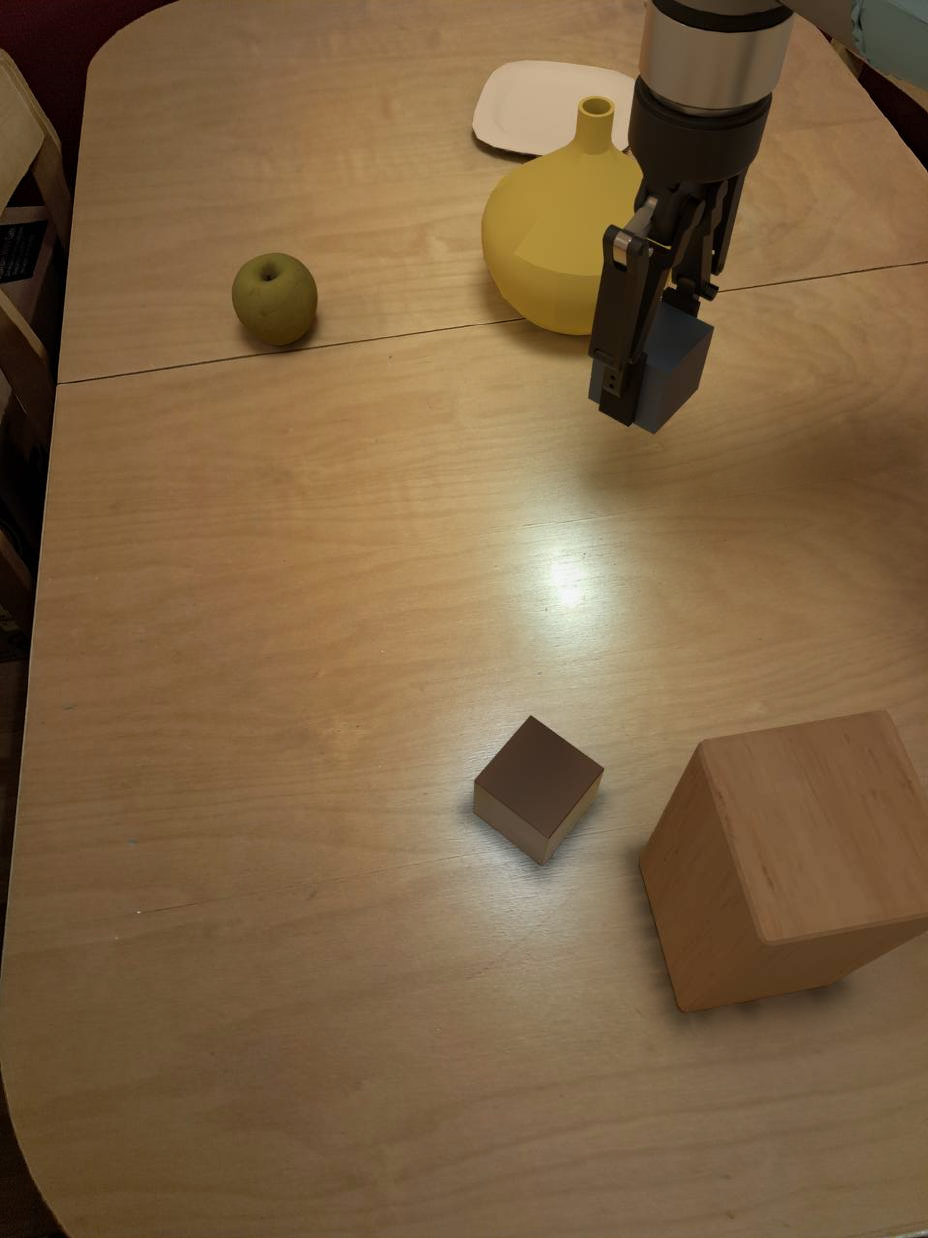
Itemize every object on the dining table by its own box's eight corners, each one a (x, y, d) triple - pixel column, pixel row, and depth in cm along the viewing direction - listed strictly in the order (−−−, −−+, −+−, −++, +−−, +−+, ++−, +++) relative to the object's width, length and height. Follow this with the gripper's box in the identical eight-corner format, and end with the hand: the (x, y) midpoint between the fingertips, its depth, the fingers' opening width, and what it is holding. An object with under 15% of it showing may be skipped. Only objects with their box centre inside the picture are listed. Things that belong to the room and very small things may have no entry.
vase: (504, 380, 86) (511, 191, 69) (463, 252, 95) (461, 58, 79) (695, 349, 88) (746, 158, 71) (636, 226, 97) (670, 32, 81)
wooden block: (778, 832, 64) (890, 704, 47) (832, 985, 59) (980, 905, 42) (636, 857, 63) (696, 737, 46) (678, 1015, 58) (764, 945, 41)
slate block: (698, 389, 71) (715, 326, 66) (654, 435, 69) (668, 374, 64) (632, 354, 73) (643, 291, 68) (587, 398, 71) (595, 336, 66)
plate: (646, 85, 110) (648, 71, 109) (624, 178, 101) (626, 163, 100) (495, 67, 112) (495, 52, 111) (461, 156, 103) (461, 142, 102)
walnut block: (594, 800, 65) (605, 768, 60) (542, 867, 63) (548, 839, 58) (526, 749, 67) (530, 714, 62) (473, 812, 65) (473, 780, 60)
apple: (226, 346, 88) (208, 284, 82) (271, 294, 92) (256, 231, 86) (296, 371, 87) (282, 309, 81) (338, 316, 90) (328, 254, 84)
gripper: (735, -11, 56) (668, 302, 76) (544, 135, 49) (525, 440, 68) (850, 29, 53) (749, 343, 73) (667, 190, 46) (610, 491, 66)
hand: (641, 389), depth 71 cm, fingers closed on slate block, 6 cm apart
